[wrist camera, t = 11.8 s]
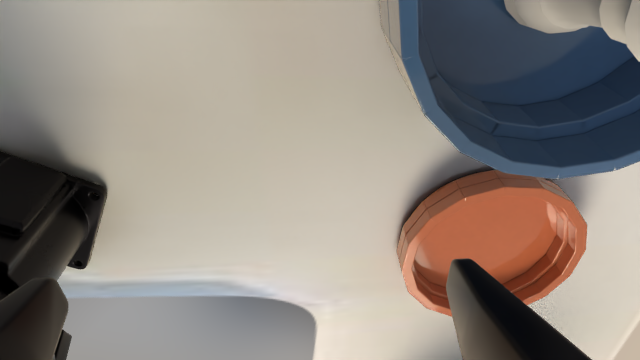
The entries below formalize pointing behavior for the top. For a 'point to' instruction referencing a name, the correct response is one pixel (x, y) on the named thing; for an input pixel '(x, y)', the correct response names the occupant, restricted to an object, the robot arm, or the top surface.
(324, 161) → the top surface
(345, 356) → the top surface
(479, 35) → the bowl
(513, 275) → the orange round lid
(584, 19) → the rook chess piece
